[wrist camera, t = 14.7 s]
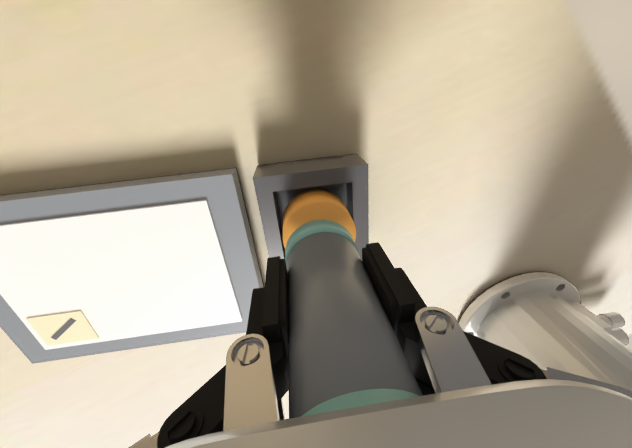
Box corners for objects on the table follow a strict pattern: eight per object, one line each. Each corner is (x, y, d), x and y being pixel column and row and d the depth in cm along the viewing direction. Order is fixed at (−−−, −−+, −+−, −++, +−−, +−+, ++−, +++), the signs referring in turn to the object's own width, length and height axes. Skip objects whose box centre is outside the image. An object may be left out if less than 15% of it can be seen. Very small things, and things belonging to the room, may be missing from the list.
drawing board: (235, 167, 19) (231, 175, 17) (270, 315, 25) (269, 331, 23) (-70, 203, 18) (-107, 215, 16) (46, 348, 24) (28, 367, 22)
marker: (354, 214, 14) (534, 536, 4) (356, 274, 15) (483, 600, 6) (279, 224, 13) (268, 590, 4) (289, 283, 15) (300, 640, 5)
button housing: (356, 153, 19) (368, 164, 16) (358, 239, 22) (368, 259, 20) (257, 165, 19) (252, 178, 16) (273, 250, 22) (272, 272, 19)
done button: (346, 185, 17) (355, 198, 15) (349, 243, 19) (356, 262, 17) (278, 193, 17) (277, 208, 15) (287, 251, 19) (288, 272, 17)
